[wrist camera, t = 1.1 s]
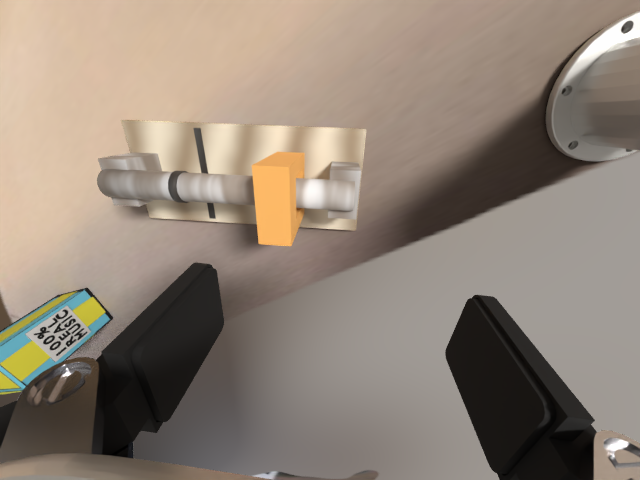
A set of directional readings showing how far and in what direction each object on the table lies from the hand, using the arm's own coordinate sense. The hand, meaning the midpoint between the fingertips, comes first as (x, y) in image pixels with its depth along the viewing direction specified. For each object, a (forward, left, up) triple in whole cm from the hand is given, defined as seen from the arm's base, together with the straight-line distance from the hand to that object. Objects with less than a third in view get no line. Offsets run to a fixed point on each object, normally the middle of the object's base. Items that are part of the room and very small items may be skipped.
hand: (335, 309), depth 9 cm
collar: (+6, +1, -21) cm, 22 cm away
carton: (+44, +26, -24) cm, 56 cm away
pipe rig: (+12, +1, -23) cm, 26 cm away
